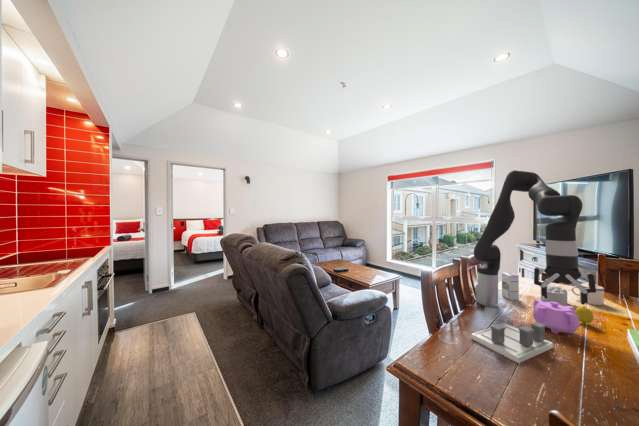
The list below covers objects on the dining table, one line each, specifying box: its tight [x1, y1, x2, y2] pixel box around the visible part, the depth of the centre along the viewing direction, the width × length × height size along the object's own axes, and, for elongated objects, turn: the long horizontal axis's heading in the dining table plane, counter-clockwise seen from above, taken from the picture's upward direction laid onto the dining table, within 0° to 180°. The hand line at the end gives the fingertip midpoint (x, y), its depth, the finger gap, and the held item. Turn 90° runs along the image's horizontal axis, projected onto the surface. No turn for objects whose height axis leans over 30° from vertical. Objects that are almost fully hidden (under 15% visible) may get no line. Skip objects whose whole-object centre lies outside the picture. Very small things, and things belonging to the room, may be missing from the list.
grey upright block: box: [490, 323, 505, 345], centre depth 85 cm, size 3×4×6 cm
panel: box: [470, 322, 554, 364], centre depth 88 cm, size 16×22×2 cm
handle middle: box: [518, 325, 534, 347], centre depth 83 cm, size 3×4×6 cm
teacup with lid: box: [571, 282, 606, 306], centre depth 127 cm, size 12×9×12 cm
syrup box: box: [501, 272, 520, 301], centre depth 132 cm, size 6×6×14 cm
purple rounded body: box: [532, 299, 581, 335], centre depth 98 cm, size 18×17×12 cm
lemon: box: [575, 305, 594, 325], centre depth 102 cm, size 6×6×8 cm
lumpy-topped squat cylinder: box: [540, 284, 568, 306], centre depth 126 cm, size 10×13×9 cm
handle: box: [530, 321, 547, 342], centre depth 86 cm, size 3×4×6 cm
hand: (563, 300), depth 77 cm, fingers open, 8 cm apart
